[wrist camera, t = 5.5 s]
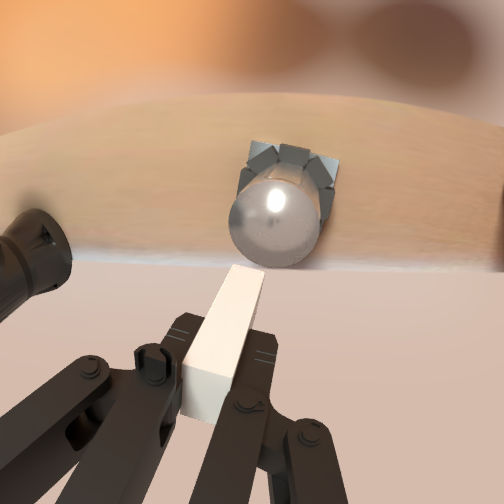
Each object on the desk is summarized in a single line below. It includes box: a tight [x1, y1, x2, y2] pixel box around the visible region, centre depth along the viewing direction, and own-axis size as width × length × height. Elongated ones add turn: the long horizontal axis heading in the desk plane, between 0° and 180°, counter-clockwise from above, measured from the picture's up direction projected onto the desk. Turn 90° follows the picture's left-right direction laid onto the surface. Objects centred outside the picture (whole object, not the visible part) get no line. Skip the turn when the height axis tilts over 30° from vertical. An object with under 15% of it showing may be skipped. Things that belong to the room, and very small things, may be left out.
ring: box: [236, 144, 335, 227], centre depth 33 cm, size 10×10×2 cm
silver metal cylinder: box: [229, 162, 321, 268], centre depth 28 cm, size 7×7×10 cm
